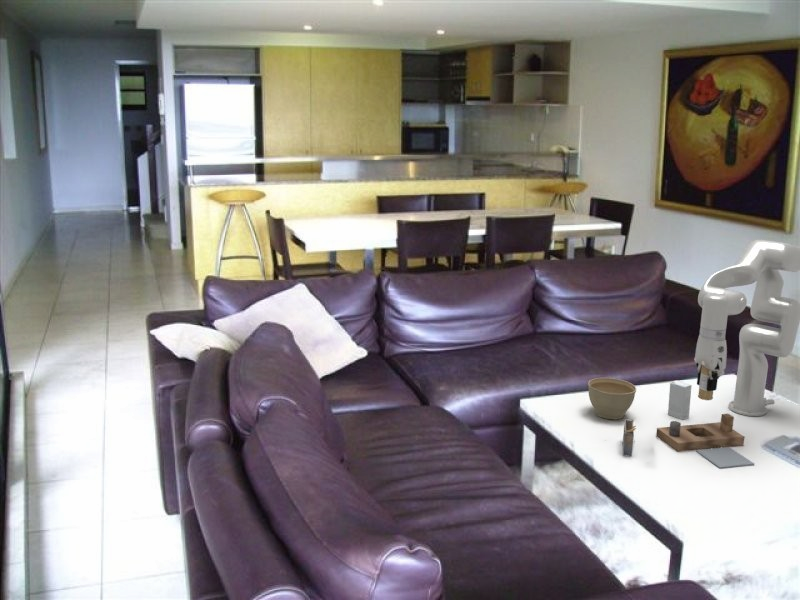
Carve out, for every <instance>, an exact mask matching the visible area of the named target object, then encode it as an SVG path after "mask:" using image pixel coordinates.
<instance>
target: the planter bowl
mask: <svg viewBox="0 0 800 600" xmlns="http://www.w3.org/2000/svg"><path fill="white" fill-rule="evenodd" d="M587 386H588V398H589V401H590V404H591V406H592V408H593V409H594V413H595V415H596V416H598V417H600V418H603V419H607V420H619V419H622V418H623V417H624V415H625V413H626V412H627V411H628V410H629V409H630V407H631V406H632V405H633V403H634V400H635V396H636V392H637V387H636V385H634V384H633V383H631V382H629V381H628V380H627V381H626V380H623V379H620V378H619V379H618V378H615V377H614V378H611V377H597V378H593V379H590V380H589V381H588V384H587Z"/></svg>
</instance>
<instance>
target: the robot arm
mask: <svg viewBox="0 0 800 600" xmlns="http://www.w3.org/2000/svg"><path fill="white" fill-rule="evenodd" d="M780 271H785V272H791V273H797V272H799V271H800V246H797V245H794V244H791V243H788V242H782V241H775V240H767V239H766V240H765V239H755V240H752V241H751V242H749V243H748V244H747V246H746V247H745V249H744V250H743V252H742V253H741V254H740V256H739V258H738V259H737V260H736V261H735V263H734V265H731V266H728V267H725V268H723V269H721V270H718V271H716V272H714V273H713V274H712V275H710V276H709V277H708V278H707V280H706V281H705V282H704V283H703V285H702V286H701V289H700V290H699V293H698V296H697V303H698V305H699V306H700V307H701V308H702V309H701V316H700V317H701V318H700V328H699V335H698V338H697V342H696V347H695V353H694V355H695V356H694V358H693V360H694V362H695V365H696V372H697V377H696V378H697V380H696V385H697V386H699V383H700V376H701V367H702V365H703V364H702V361H704V364H705V365H704V366H705V367H706V368H707V369H709V379H708V381H707V391H713V392H714V391H717V387H718V380H720V377H721V376H723V375H725V370H726V369H727V354H728V350H727V349H728V347H727V346H728V345H727V340H726V334H727V333H726V332H727V323H728V316H734V315H736V316H737V315H739V314H742V312H743V311H744V310H745V308H746V307H747V304H748V300H747V297H746V295H745V294H744V293H742V292H741V291H738V290H735V289H734V290H733V289H730V288H735V287H736V288H737V287H742V286H748V285H752V284H754V283H755V287H754V292H753V297H752V301H751V304H750V316H751V317H752V318H753V319H755V320H757V321H760V322H766V323H770V324H775V325H780V328H777V327H774V326H769V325H764V324H758V323H748V324H745V325H743V326H742V327H741V329H740V331H739V335H738V338H739V339H738V341H739V342H738V343H739V356H738V357H739V358H738V365H737V366H738V367H737V374H736V382H735V390H734V396H733V400H731V401H730V402H729V403H728V405H727V406H728V407H727V408H728V409H729V410H730V411H731V412H734V413H736V414H740V415H743V416H748V417H762V416H765V415H766V414H767V411H768V409H767V408H766V406H772V405H775V403H776V402H775V400H774V399H773V398H768V399H767V397H765V391H766V386H767V385H766V384H767V377H768V369H769V364H768V363H769V362H768V359H767V358H766V357H767V356H765V355H768V356H769V355H770V356H771V357H772V356H773V357H778V358H788V357H789V356H790V355H791V354H792V352H793V349H794V346H795V342H796V339H797V338H796V337H797V334H798V330H799V325H800V302H799V301H798V300H797V299H794V298H790V297H785V296H782V293H783V288H784V280H783V276H782V274H781V272H780ZM728 288H729V289H728ZM715 367H716V369H715ZM713 371H715V373H714V374H713Z"/></svg>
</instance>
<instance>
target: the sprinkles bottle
mask: <svg viewBox="0 0 800 600" xmlns="http://www.w3.org/2000/svg"><path fill="white" fill-rule="evenodd" d="M702 364H703V365H702V367H701V376H700V383H699V385H698V394H697V397H698V398H699V400H703V401H712V400H713V399H714V397H713V396H714V391H707V381H708V379H709V369H707V368H706V367H705V366H704V365H705V364H704V361H702ZM715 369H716V367H715ZM714 373H715V371H713V374H714Z"/></svg>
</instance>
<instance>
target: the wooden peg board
mask: <svg viewBox="0 0 800 600" xmlns="http://www.w3.org/2000/svg"><path fill="white" fill-rule="evenodd" d="M734 421H735V417H734V416H733V415H732V414H730V413H721V418H720V422H719V421H718V422H707V423H698V424H697V423H696V424H687V425H682V424H681V422H680V421H676V420H671V421H670V423H669V426H663V427H662V426H661V427H657V428H656V437H657V439H659V440H661V441H662V443H664V444H665V445H667V446H668V447H670V448H671V449H672V450H673V451H675V452H676V453H681V452H690V451H691V452H692V451H696V450H704V449H711V448H713V449H714V448H721V447H723V448H724V447H730V448H732V447H742V446H744V445H745V444H744V443H745V439H746V438H745V436H744V435H743V434H741V433H739V432H738V431H736V430H735V429H733V428H734Z"/></svg>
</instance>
